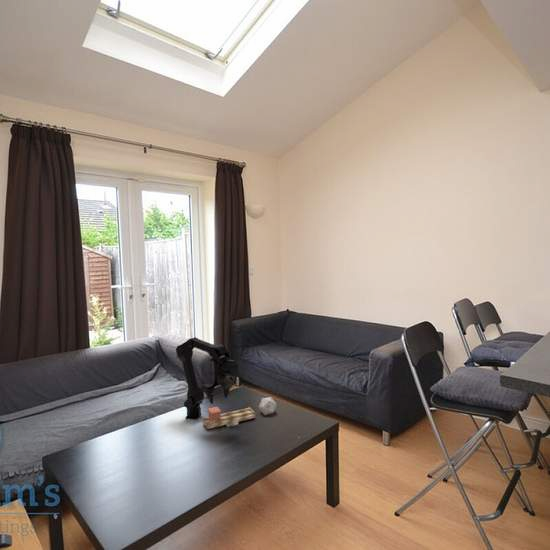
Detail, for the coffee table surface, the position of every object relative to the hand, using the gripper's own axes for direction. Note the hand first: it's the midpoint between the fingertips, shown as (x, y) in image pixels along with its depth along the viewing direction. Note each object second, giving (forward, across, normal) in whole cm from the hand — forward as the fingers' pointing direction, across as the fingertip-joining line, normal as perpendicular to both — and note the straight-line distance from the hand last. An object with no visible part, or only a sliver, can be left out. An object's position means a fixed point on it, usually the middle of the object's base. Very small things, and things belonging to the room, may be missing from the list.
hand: (218, 400), depth 182 cm
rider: (+10, -2, +2) cm, 10 cm away
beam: (+13, +6, -1) cm, 14 cm away
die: (+13, +26, -10) cm, 31 cm away
